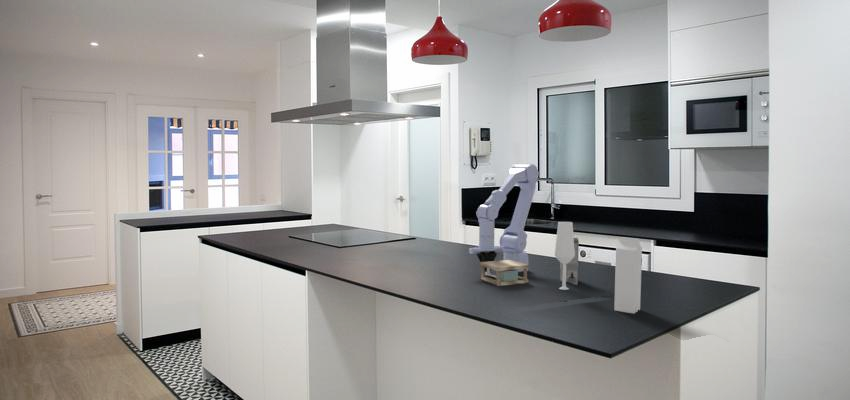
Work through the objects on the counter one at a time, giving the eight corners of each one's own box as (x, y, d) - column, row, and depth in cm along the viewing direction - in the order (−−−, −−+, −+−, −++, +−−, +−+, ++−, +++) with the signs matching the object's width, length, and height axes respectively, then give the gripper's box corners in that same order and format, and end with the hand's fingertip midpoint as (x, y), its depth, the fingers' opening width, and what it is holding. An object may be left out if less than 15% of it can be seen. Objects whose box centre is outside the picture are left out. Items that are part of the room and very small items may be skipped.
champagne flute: (552, 293, 194) (554, 223, 192) (555, 289, 200) (556, 221, 199) (573, 294, 192) (574, 223, 190) (574, 290, 198) (576, 221, 196)
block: (491, 273, 221) (491, 260, 221) (517, 282, 205) (517, 268, 205) (477, 274, 219) (477, 261, 218) (503, 284, 202) (503, 270, 202)
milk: (620, 306, 177) (622, 236, 175) (640, 309, 173) (642, 237, 172) (613, 310, 172) (615, 238, 170) (634, 313, 168) (636, 239, 167)
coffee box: (559, 279, 217) (560, 237, 216) (576, 279, 216) (577, 237, 215) (560, 284, 208) (561, 240, 207) (578, 285, 207) (579, 241, 206)
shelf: (497, 275, 223) (498, 256, 223) (528, 285, 205) (528, 264, 205) (469, 278, 218) (469, 258, 217) (497, 289, 200) (497, 267, 199)
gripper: (475, 238, 211) (475, 274, 212) (508, 236, 217) (508, 271, 218) (466, 236, 217) (466, 271, 218) (498, 234, 223) (498, 268, 224)
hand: (486, 271), depth 218 cm, fingers closed on block
